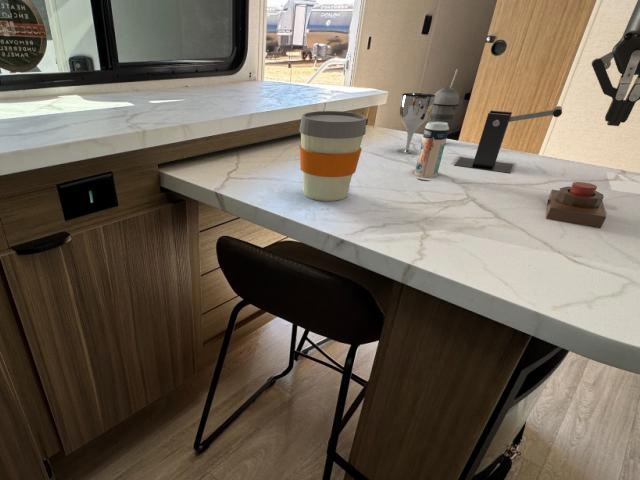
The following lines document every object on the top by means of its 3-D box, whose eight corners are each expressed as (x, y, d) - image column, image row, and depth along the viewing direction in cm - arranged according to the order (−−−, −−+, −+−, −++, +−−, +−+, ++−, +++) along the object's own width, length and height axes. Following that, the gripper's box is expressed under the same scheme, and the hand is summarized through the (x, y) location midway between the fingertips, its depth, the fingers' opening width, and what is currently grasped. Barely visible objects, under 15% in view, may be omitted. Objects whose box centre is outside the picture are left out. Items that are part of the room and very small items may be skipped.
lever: (561, 115, 91) (562, 103, 90) (561, 118, 87) (562, 106, 86) (491, 126, 98) (492, 115, 97) (489, 129, 95) (489, 118, 94)
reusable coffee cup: (342, 182, 92) (352, 109, 84) (365, 202, 82) (379, 121, 74) (287, 185, 91) (292, 111, 82) (305, 206, 80) (312, 123, 72)
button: (568, 189, 77) (572, 180, 76) (592, 193, 76) (596, 184, 75) (568, 195, 75) (573, 185, 74) (593, 199, 73) (597, 189, 72)
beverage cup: (427, 143, 125) (445, 67, 114) (451, 147, 120) (472, 68, 109) (415, 147, 120) (433, 68, 109) (439, 151, 116) (460, 70, 105)
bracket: (511, 168, 102) (531, 112, 95) (508, 177, 96) (529, 118, 88) (459, 161, 107) (474, 107, 100) (452, 169, 101) (468, 113, 94)
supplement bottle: (412, 175, 97) (424, 120, 91) (433, 176, 96) (447, 121, 90) (415, 181, 93) (428, 124, 87) (437, 182, 92) (452, 125, 86)
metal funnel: (423, 161, 108) (439, 97, 99) (392, 159, 109) (404, 96, 101) (418, 153, 114) (432, 93, 106) (388, 152, 115) (399, 92, 107)
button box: (547, 200, 83) (555, 180, 81) (596, 207, 79) (606, 187, 77) (545, 219, 75) (554, 197, 73) (600, 228, 71) (611, 206, 69)
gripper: (617, -5, 59) (565, 124, 69) (745, -8, 53) (669, 133, 63) (612, -2, 65) (564, 117, 74) (729, -5, 59) (660, 125, 68)
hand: (612, 125), depth 69 cm, fingers closed
